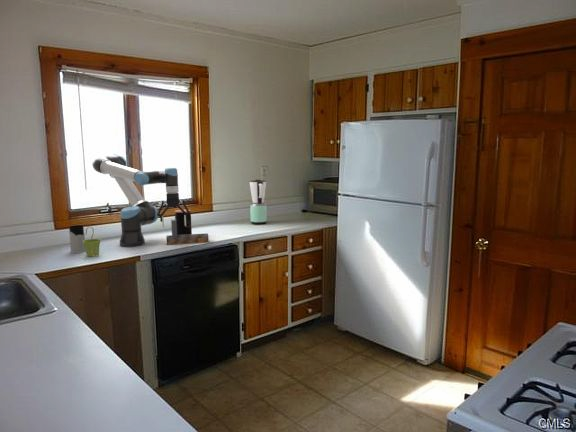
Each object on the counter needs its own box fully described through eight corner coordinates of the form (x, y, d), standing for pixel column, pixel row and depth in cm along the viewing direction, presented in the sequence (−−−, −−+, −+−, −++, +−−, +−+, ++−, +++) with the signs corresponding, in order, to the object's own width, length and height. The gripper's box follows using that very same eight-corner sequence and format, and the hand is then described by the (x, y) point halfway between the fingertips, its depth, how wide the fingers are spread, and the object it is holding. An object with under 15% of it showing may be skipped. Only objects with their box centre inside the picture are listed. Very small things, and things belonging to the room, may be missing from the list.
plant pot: (94, 258, 242) (93, 242, 241) (80, 257, 245) (78, 241, 244) (105, 254, 251) (104, 239, 250) (91, 253, 254) (90, 238, 252)
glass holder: (67, 251, 258) (65, 226, 256) (91, 247, 269) (89, 223, 266) (73, 253, 252) (71, 228, 250) (98, 249, 263) (96, 225, 261)
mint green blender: (247, 222, 356) (246, 179, 350) (263, 221, 360) (262, 178, 355) (254, 226, 338) (253, 180, 333) (270, 225, 343) (270, 180, 337)
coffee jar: (187, 238, 294) (186, 211, 292) (173, 237, 297) (171, 211, 294) (194, 235, 305) (193, 209, 302) (180, 234, 307) (178, 209, 304)
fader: (172, 238, 276) (171, 220, 275) (172, 237, 281) (171, 219, 279) (177, 238, 277) (176, 220, 275) (177, 236, 282) (176, 219, 280)
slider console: (166, 245, 274) (166, 238, 273) (166, 242, 283) (166, 235, 282) (208, 242, 280) (208, 235, 279) (207, 239, 289) (207, 233, 288)
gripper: (151, 194, 268) (153, 228, 271) (193, 192, 274) (194, 225, 277) (152, 193, 275) (154, 226, 278) (192, 191, 281) (194, 224, 284)
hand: (174, 226), depth 278 cm, fingers open, 13 cm apart
